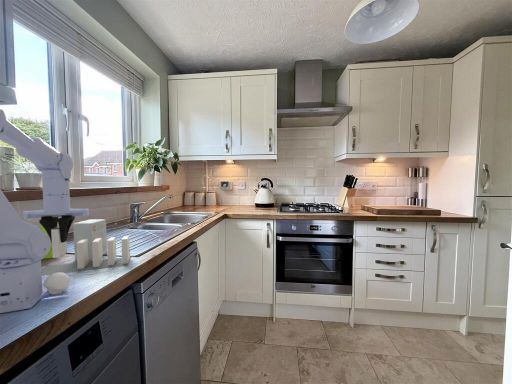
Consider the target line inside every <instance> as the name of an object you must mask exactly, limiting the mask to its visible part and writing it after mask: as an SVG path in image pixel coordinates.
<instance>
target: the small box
mask: <svg viewBox="0 0 512 384" xmlns="http://www.w3.org/2000/svg"><path fill="white" fill-rule="evenodd" d="M72 227H73V230H72V231H73V247H74V260H76V261H77V246H76V243H78V242H79V241H80V240H83V239H88V261H93V254H92V242H93V241H94V240H95V239H96V238H102V254H103V255H105V254H107V240H108V239H107V238H108V237H107V219H101V218H100V219H99V218H96V219H95V218H93V219H90V218H89V219H87V220H82V221H79V222H72Z"/></svg>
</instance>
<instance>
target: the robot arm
mask: <svg viewBox="0 0 512 384" xmlns="http://www.w3.org/2000/svg"><path fill="white" fill-rule="evenodd" d="M0 141H1V142H3V143H6V144H8V145H9V146H12V147H13V148H15V152H16V154H17V155H19V157H21V158H23V159H25V160H27V161H29V162H31V163H32V164H33V165H34V167H35V168H36V169H37V171H38V172H41V181H42V182H41V185H42V186H41V187H42V200H43V201H42V202H43V203H42V204H43V209H41V210H40V209H39V210H24V211H22V218H21V217H20V216H19V215H18V213H17V211H16V210H15V208H14V207H13V205H12V204H11V203H10V201H9V200H8V198H7V197H6V195H5V194H4V192H3V191H2V189H1V188H0V314H3V313H9V312H16V311H22V310H27V309H28V310H29V309H31V308H33V306H35V305H36V304H37V303H38V302H39V301H40V300H42V298H43V297H44V296H45V295H46V294H47V293H49V292H48V288H46V287H44V288H43V276H42V269H43V268H42V260H43V259H46V258H45V256H46V255H47V253H48V252H49V250H50V246H51V243H52V234H51V228H54V227H56V226H57V224H59V228H60V240H61V243H63V242H65V241H67V240H68V236H69V231H70V230H71V226H72V225H73V223H74V221H75V218H76V217H88V216H90V209H89V208H71V196H70V194H71V193H70V179H71V177H72V171H73V168H74V162H73V160H72V157H71V155H69V154H67V152H63V151H58V150H57V149H55V147H53V146H52V145H49V144H48V143H47V142H46V141H44V140H43V138H42V137H40V136H31V135H30V136H28V135H27V134H25V132H24V131H22V130H21V129H20V128H18V127H17V126H16V125H15V124H13V123H12V122H10V121H9V120H8V119H7V116H6V114H5V111H4V109H2V108H1V107H0ZM53 214H58V215H53ZM28 219H39V220H38V222H39V224H40V226H41V225H42V226H43V227H44V229H45V230H46V232H47V233H48V235H49V236H48V235H47V234H46V233H45V232H42V231H41V227H39V226H38V225H36V224H34V223H31V222H27V221H25V220H28ZM50 240H51V241H50Z"/></svg>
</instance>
